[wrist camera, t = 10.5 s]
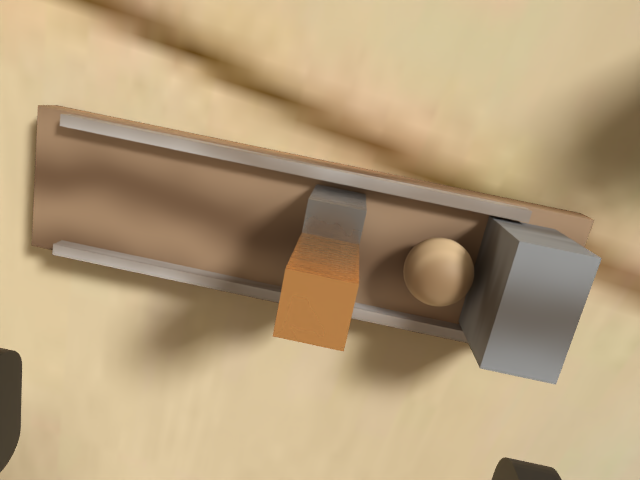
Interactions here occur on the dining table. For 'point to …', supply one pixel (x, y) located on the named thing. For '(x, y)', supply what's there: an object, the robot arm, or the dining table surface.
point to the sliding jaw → (323, 270)
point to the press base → (286, 227)
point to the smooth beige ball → (438, 271)
